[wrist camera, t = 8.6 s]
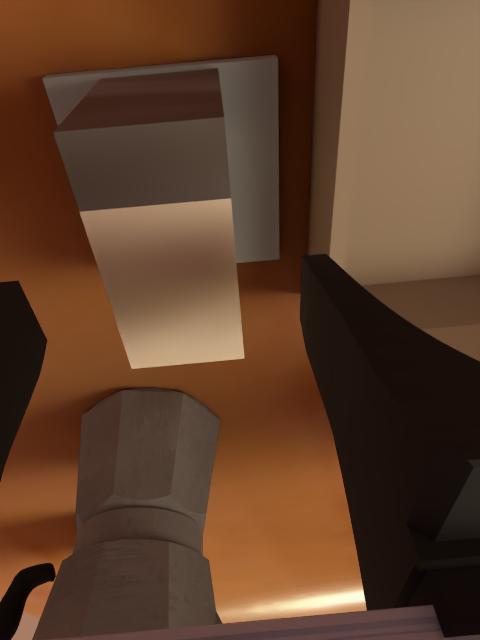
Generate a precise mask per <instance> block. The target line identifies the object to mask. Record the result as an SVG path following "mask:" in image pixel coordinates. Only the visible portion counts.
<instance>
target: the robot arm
mask: <svg viewBox="0 0 480 640" xmlns="http://www.w3.org/2000/svg"><path fill="white" fill-rule="evenodd" d="M300 321H301V326H302V332H303V337H304V342H305V347H306V351H307V355H308V358H309V361H310V364H311V367H312V370H313V373H314V376H315V379H316V382H317V385H318V388H319V391H320V394H321V397H322V400H323V403H324V407H325V410H326V413H327V416H328V419H329V422H330V425H331V429H332V433H333V436H334V441H335V445H336V450H337V454H338V459H339V464H340V468H341V473H342V478H343V483H344V488H345V493H346V498H347V502H348V507H349V513H350V518H351V523H352V528H353V534H354V539H355V544H356V550H357V555H358V561H359V566H360V572H361V578H362V584H363V589H364V595H365V601H366V607H367V611H359V612H348V613H337V614H326V615H314V616H303V617H292V618H281V619H270V620H259V621H248V622H237V623H226V624H215V625H204V626H193V627H182V628H171V629H160V630H149V631H138V632H127V633H116V634H105V635H94V636H83V637H72V638H61V639H50V640H480V361H478V360H476V359H474V358H472V357H470V356H468V355H466V354H464V353H462V352H460V351H458V350H456V349H454V348H452V347H450V346H449V345H447V344H445V343H443V342H441V341H440V340H438V339H436V338H434V337H433V336H431V335H430V334H428V333H426V332H425V331H423V330H421V329H420V328H418V327H416V326H415V325H413V324H412V323H410V322H409V321H407V320H406V319H404V318H403V317H401V316H400V315H399V314H397V313H396V312H394V311H393V310H392V309H390V308H389V307H388V306H386V305H385V304H384V303H382V302H381V301H380V300H378V299H377V298H376V297H375V296H373V295H372V294H371V293H370V292H368V291H367V290H366V289H365V288H364V287H363V286H361V285H360V284H359V283H358V282H357V281H356V280H354V279H353V278H352V277H351V276H350V275H349V274H348V273H347V272H346V271H345V270H343V269H342V268H341V267H340V266H339V265H338V264H337V263H336V262H335V261H334V260H333V259H331V258H330V257H329V256H328V255H327V254H316V255H305V256H302V271H301V302H300ZM46 344H47V339H46V337H45V335H44V333H43V331H42V329H41V327H40V324H39V322H38V320H37V318H36V316H35V314H34V312H33V310H32V308H31V306H30V304H29V302H28V300H27V298H26V296H25V294H24V292H23V289H22V287H21V285H20V283H19V281H10V282H0V481H1V478H2V474H3V470H4V467H5V464H6V461H7V458H8V455H9V452H10V449H11V447H12V444H13V441H14V439H15V436H16V434H17V431H18V429H19V426H20V424H21V421H22V419H23V416H24V414H25V411H26V409H27V406H28V404H29V401H30V399H31V396H32V394H33V391H34V388H35V386H36V383H37V381H38V378H39V375H40V372H41V368H42V363H43V359H44V354H45V349H46Z"/></svg>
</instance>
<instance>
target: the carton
mask: <svg viewBox="0 0 480 640" xmlns="http://www.w3.org/2000/svg"><path fill="white" fill-rule="evenodd" d="M316 254H327V255H328V256H329V257H330V258H331V259H333V260H334V261H335V262H336V263H337V264H338V265H339V266H340V267H341V268H342V269H343V270H345V271H346V272H347V273H348V274H349V275H350V276H351V277H352V278H353V279H354V280H356V281H357V282H358V283H359V284H360V285H361V286H363V287H364V288H365V289H366V290H367V291H368V292H370V293H371V294H372V295H373V296H375V297H376V298H377V299H378V300H380V301H381V302H382V303H384V304H385V305H386V306H388V307H389V308H390V309H392V310H393V311H394V312H396V313H397V314H399V315H400V316H401V317H403V318H404V319H406V320H407V321H409V322H410V323H412V324H413V325H415V326H416V327H418V328H420V329H421V330H423V331H425V332H426V333H428V334H430V335H431V336H433V337H434V338H436V339H438V340H440V341H441V342H443V343H445V344H447V345H449V346H450V347H452V348H454V349H456V350H458V351H460V352H462V353H464V354H466V355H468V356H470V357H472V358H474V359H476V360H478V361H480V0H318V7H317V31H316V55H315V79H314V103H313V127H312V151H311V175H310V199H309V223H308V247H307V255H316Z"/></svg>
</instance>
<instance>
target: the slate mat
mask: <svg viewBox="0 0 480 640" xmlns="http://www.w3.org/2000/svg"><path fill="white" fill-rule="evenodd" d="M215 68H218V71H219V79H220V87H221V95H222V103H223V111H224V120H225V132H226V144H227V156H228V168H229V180H230V192H231V204H232V216H233V228H234V240H235V252H236V263H244V262H255V261H266V260H277V259H279V125H278V57H277V56H276V55H266V56H255V57H243V58H232V59H220V60H209V61H197V62H186V63H174V64H163V65H152V66H140V67H129V68H117V69H106V70H94V71H83V72H72V73H60V74H49V75H46V76H44V77H43V78H42V80H43V83H44V86H45V89H46V92H47V95H48V98H49V101H50V104H51V108H52V111H53V114H54V117H55V120H56V123H57V126H59V125H60V124H61V123H62V121H63V120H64V119H65V118H66V117H67V116H68V115H69V114H70V113H71V111H72V110H73V109H74V108H75V107H76V106H77V105H78V104H79V102H80V101H81V100H82V99H83V98H84V97H85V96H86V95H87V93H88V92H89V91H90V90H91V89H92V88H93V87H94V86H95V84H96V83H97V82H98V81H99V80H100V79H101V78H111V77H123V76H134V75H146V74H157V73H169V72H180V71H192V70H203V69H215Z"/></svg>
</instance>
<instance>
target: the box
mask: <svg viewBox="0 0 480 640" xmlns="http://www.w3.org/2000/svg"><path fill="white" fill-rule="evenodd" d="M53 134H54V137H55V140H56V143H57V146H58V149H59V152H60V155H61V158H62V161H63V164H64V167H65V170H66V173H67V176H68V179H69V182H70V185H71V188H72V191H73V194H74V197H75V200H76V203H77V206H78V209H79V212H80V215H81V218H82V221H83V224H84V227H85V230H86V233H87V236H88V239H89V242H90V245H91V248H92V251H93V254H94V257H95V260H96V263H97V266H98V269H99V272H100V275H101V278H102V281H103V284H104V287H105V290H106V293H107V296H108V299H109V302H110V305H111V308H112V311H113V314H114V317H115V320H116V323H117V326H118V329H119V332H120V335H121V338H122V341H123V344H124V347H125V350H126V353H127V356H128V359H129V362H130V366H131V369H136V368H147V367H158V366H169V365H180V364H191V363H202V362H213V361H224V360H235V359H244V348H243V336H242V324H241V312H240V300H239V288H238V276H237V264H236V252H235V240H234V228H233V216H232V204H231V192H230V180H229V168H228V156H227V144H226V132H225V120H224V111H223V103H222V95H221V87H220V79H219V71H218V68H215V69H203V70H192V71H180V72H169V73H157V74H146V75H134V76H123V77H111V78H101V79H100V80H99V81H98V82H97V83H96V84H95V86H94V87H93V88H92V89H91V90H90V91H89V92H88V93H87V95H86V96H85V97H84V98H83V99H82V100H81V101H80V102H79V104H78V105H77V106H76V107H75V108H74V109H73V110H72V111H71V113H70V114H69V115H68V116H67V117H66V118H65V119H64V120H63V121H62V123H61V124H60V125H59V126H58V127H57V128H56V129H55V130H54V132H53Z"/></svg>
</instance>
